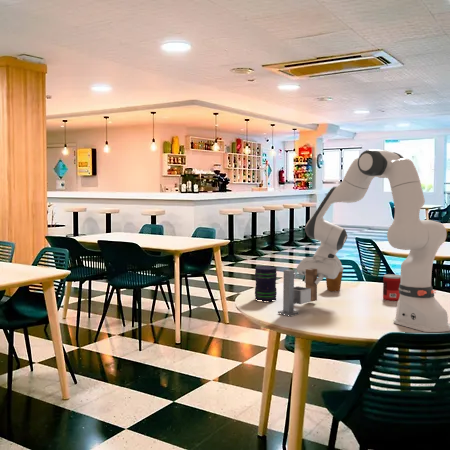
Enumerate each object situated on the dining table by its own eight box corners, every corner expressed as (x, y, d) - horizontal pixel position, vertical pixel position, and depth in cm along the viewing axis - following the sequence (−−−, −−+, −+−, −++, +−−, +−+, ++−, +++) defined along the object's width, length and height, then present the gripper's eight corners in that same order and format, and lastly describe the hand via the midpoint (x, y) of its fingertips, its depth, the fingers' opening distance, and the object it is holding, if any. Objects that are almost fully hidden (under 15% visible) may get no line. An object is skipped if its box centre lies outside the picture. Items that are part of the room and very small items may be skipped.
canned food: (404, 299, 237) (405, 276, 236) (392, 301, 233) (393, 277, 232) (391, 296, 244) (391, 273, 243) (379, 298, 240) (379, 275, 239)
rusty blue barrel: (258, 302, 231) (258, 269, 230) (252, 298, 241) (252, 266, 239) (279, 301, 233) (279, 268, 232) (272, 297, 243) (272, 265, 242)
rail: (310, 299, 233) (310, 268, 232) (316, 300, 230) (317, 269, 229) (305, 300, 230) (305, 269, 229) (312, 301, 228) (312, 269, 227)
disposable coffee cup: (345, 289, 260) (346, 265, 259) (339, 292, 252) (340, 268, 251) (327, 287, 265) (328, 264, 264) (321, 290, 257) (321, 266, 256)
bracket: (296, 308, 221) (297, 266, 220) (310, 311, 216) (311, 268, 215) (277, 313, 211) (277, 270, 210) (290, 316, 206) (291, 272, 205)
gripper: (301, 252, 241) (288, 275, 235) (339, 256, 227) (327, 281, 220) (307, 260, 244) (294, 284, 238) (345, 265, 230) (332, 290, 224)
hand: (310, 282), depth 229 cm, fingers closed on rail, 4 cm apart
